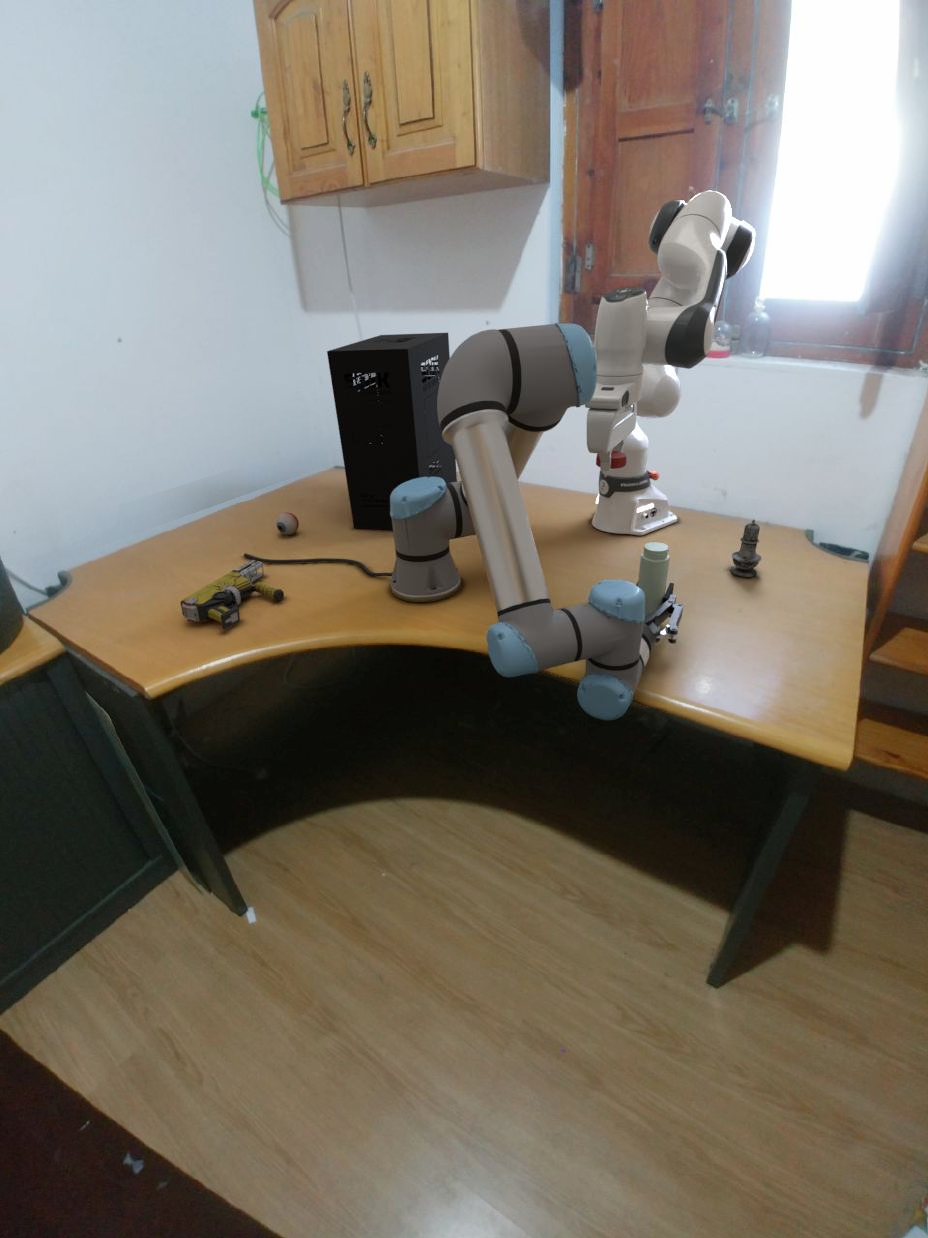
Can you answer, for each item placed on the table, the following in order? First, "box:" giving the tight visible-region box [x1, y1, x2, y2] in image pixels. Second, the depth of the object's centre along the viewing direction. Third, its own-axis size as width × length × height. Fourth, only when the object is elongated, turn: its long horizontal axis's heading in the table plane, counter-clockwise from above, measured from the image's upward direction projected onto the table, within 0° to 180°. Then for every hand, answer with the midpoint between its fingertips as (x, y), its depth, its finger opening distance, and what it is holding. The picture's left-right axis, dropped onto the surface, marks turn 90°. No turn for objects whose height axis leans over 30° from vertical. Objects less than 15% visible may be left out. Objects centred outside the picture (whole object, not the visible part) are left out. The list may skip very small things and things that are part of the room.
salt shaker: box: [730, 519, 762, 578], centre depth 129 cm, size 6×6×12 cm
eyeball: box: [275, 511, 300, 536], centre depth 163 cm, size 6×6×6 cm
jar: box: [637, 541, 671, 630], centre depth 110 cm, size 5×5×17 cm
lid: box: [595, 451, 627, 469], centre depth 116 cm, size 6×6×2 cm
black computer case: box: [326, 332, 458, 531], centre depth 169 cm, size 38×20×45 cm, turn 167°
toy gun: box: [179, 559, 285, 630], centre depth 130 cm, size 5×24×15 cm
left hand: (655, 587), depth 115 cm, fingers closed on jar, 5 cm apart
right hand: (610, 465), depth 116 cm, fingers closed on lid, 5 cm apart
